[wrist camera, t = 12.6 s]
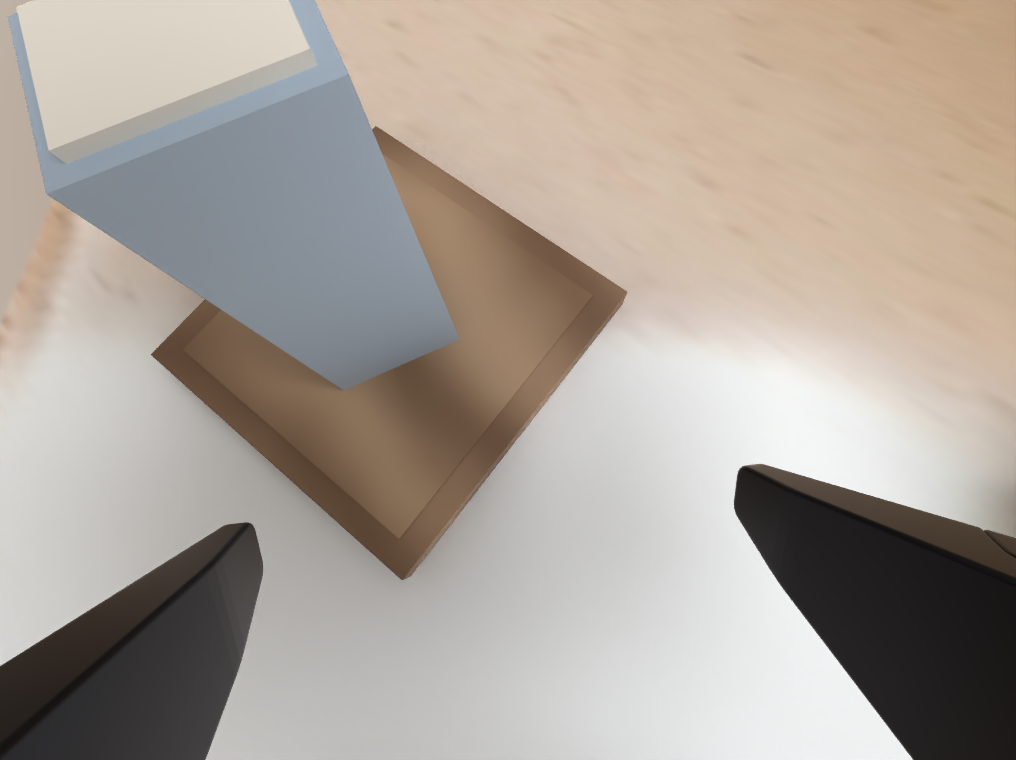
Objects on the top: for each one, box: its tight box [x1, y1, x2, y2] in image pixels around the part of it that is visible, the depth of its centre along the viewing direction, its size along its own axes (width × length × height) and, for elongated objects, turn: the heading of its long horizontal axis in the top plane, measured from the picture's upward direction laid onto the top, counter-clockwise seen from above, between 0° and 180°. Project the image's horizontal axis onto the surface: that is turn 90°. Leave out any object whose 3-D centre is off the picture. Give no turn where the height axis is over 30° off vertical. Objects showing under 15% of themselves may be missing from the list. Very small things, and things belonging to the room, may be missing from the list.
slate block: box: [8, 0, 459, 390], centre depth 14 cm, size 4×5×13 cm
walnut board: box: [151, 126, 627, 580], centre depth 21 cm, size 14×14×1 cm
